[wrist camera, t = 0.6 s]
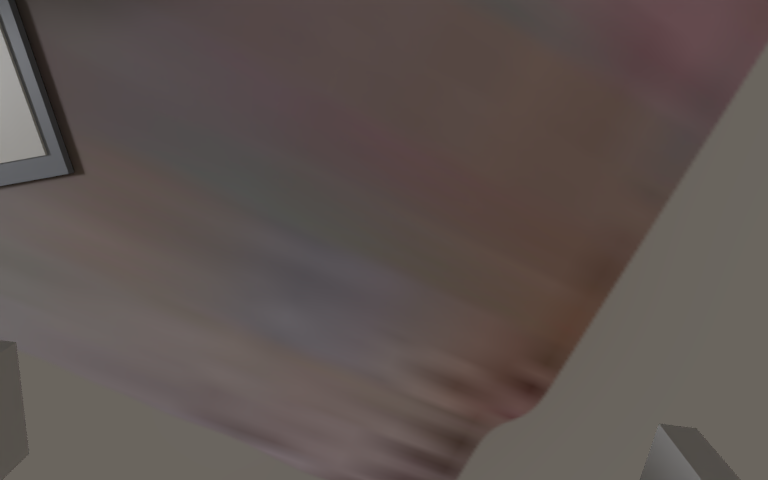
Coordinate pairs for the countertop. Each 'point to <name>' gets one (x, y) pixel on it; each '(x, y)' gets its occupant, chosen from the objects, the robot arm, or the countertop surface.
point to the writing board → (25, 110)
